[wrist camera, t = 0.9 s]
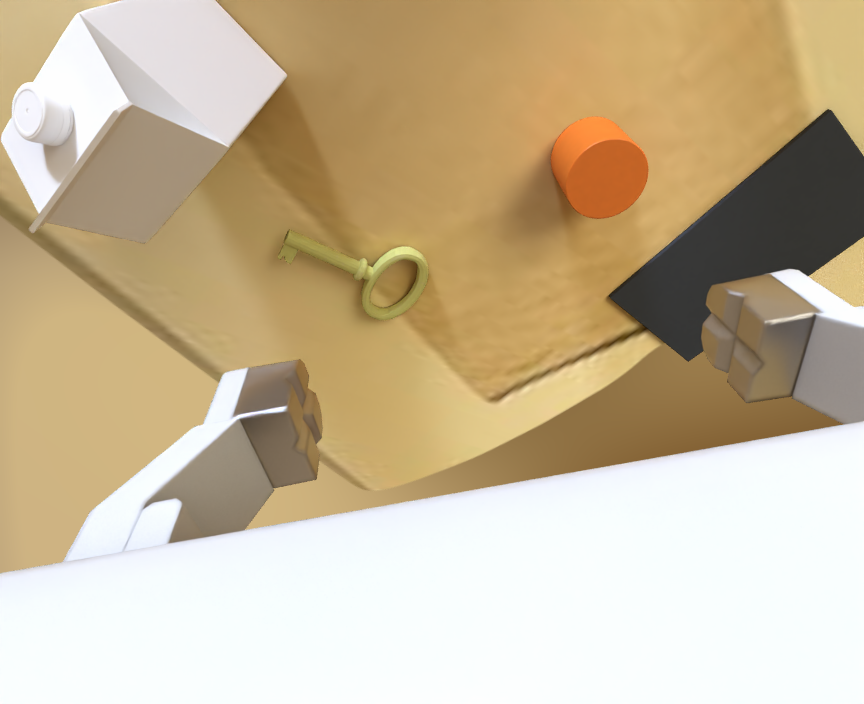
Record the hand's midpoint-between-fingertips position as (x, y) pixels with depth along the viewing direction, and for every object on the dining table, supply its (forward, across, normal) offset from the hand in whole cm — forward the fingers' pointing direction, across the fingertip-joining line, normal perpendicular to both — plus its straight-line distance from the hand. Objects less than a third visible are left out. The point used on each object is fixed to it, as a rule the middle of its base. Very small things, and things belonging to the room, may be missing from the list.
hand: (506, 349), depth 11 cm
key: (+33, +7, +12) cm, 36 cm away
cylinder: (+31, -12, +6) cm, 34 cm away
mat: (+31, -26, +17) cm, 44 cm away
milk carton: (+32, +13, -3) cm, 35 cm away
